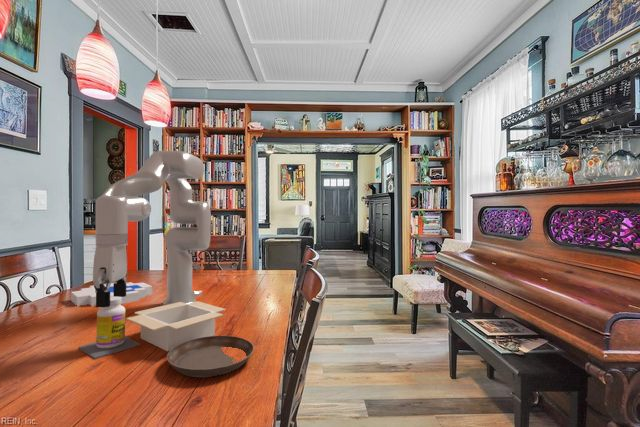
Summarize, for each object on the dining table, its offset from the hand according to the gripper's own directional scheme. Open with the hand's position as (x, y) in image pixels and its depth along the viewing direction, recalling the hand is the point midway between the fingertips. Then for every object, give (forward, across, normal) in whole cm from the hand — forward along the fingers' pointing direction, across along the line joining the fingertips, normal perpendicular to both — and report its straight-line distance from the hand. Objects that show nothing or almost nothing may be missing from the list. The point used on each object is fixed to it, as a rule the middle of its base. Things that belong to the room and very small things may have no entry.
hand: (112, 301), depth 89 cm
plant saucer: (+13, +14, +29) cm, 35 cm away
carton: (+13, -4, +16) cm, 21 cm away
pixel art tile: (+14, -56, -24) cm, 63 cm away
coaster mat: (+12, +1, 0) cm, 12 cm away
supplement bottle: (+12, 0, 0) cm, 12 cm away
